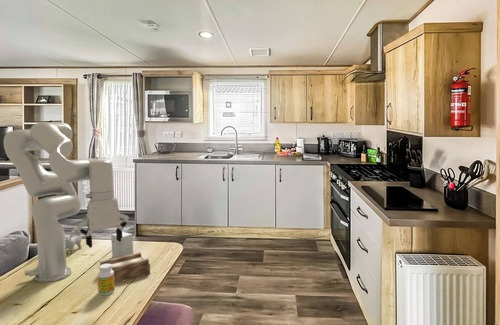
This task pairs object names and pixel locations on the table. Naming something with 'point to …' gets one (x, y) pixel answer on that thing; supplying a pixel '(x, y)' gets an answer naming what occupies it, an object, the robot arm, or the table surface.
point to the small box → (122, 245)
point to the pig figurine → (73, 240)
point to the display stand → (128, 267)
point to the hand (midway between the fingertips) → (104, 243)
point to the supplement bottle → (106, 279)
